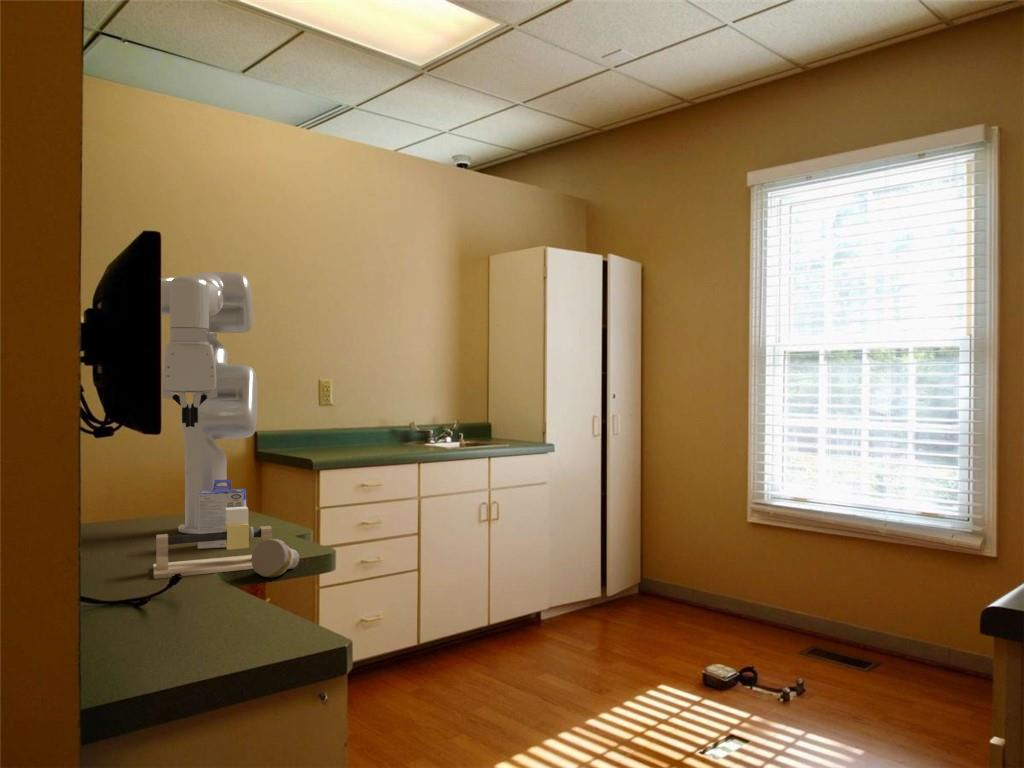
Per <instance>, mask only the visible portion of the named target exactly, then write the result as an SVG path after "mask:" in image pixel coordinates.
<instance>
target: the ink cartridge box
mask: <svg viewBox="0 0 1024 768" xmlns="http://www.w3.org/2000/svg"><path fill="white" fill-rule="evenodd" d="M222 482H224V483H227V486H217V484H218V483H222ZM197 504H198V507H197V508H198V534H204V533H216V532H225V522H226V520H225V508H229V507H244V506H247V490H246V488H237V489H235V488H232V479H227V480H214V488H213V491H201V492H200V493H199V494H198V495H197ZM217 548H219V549H220V548H226V546H225V540H219V541H208V542H197V548H196V549H197V550H201V549H202V550H203V549H217Z"/></svg>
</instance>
